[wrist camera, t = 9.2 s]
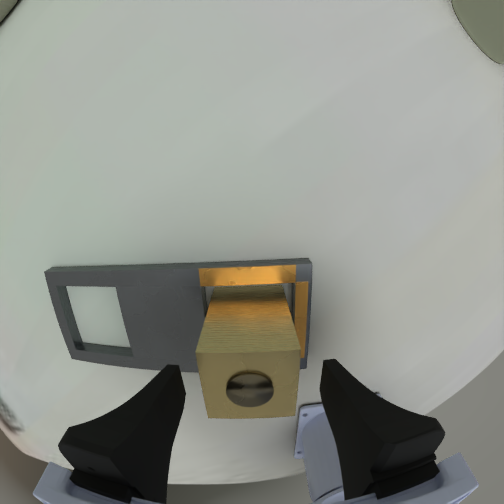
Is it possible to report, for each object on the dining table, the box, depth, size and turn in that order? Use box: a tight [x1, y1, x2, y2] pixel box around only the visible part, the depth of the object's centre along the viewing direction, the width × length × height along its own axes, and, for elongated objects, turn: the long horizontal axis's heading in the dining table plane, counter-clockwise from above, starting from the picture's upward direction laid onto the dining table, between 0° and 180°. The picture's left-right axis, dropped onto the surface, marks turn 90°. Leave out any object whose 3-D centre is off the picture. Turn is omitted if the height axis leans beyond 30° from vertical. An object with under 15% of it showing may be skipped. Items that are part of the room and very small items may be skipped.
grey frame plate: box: [44, 258, 312, 372], centre depth 18 cm, size 8×20×1 cm, turn 92°
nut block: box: [195, 285, 301, 419], centre depth 15 cm, size 4×4×8 cm
